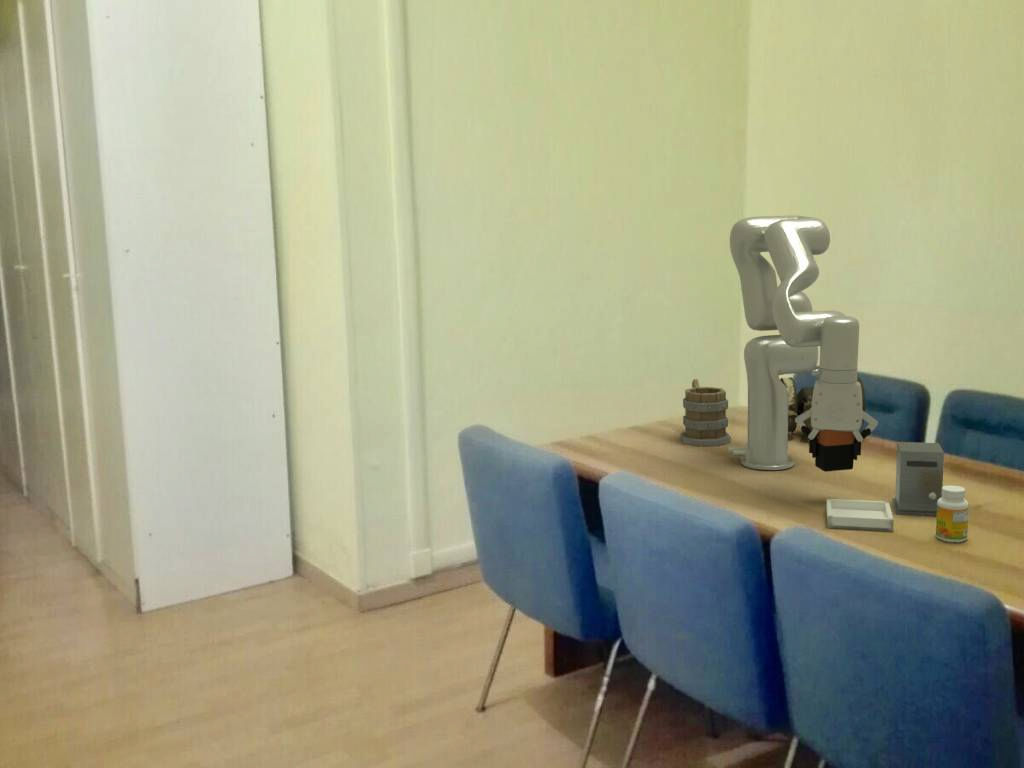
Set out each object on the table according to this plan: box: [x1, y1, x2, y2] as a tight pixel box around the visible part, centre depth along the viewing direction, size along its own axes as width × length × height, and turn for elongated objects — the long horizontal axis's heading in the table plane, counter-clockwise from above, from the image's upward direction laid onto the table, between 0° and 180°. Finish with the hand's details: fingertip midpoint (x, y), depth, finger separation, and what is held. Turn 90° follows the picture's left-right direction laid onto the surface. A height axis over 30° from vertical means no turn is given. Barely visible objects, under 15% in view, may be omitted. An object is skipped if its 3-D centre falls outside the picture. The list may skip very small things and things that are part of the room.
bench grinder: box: [779, 376, 867, 441], centre depth 263 cm, size 20×22×20 cm
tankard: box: [680, 378, 732, 447], centre depth 268 cm, size 20×13×15 cm, turn 179°
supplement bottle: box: [935, 485, 970, 543], centre depth 183 cm, size 5×5×10 cm
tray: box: [825, 498, 895, 532], centre depth 196 cm, size 12×12×2 cm
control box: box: [891, 441, 945, 517], centre depth 201 cm, size 9×9×13 cm
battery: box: [814, 430, 855, 472], centre depth 207 cm, size 4×7×10 cm, turn 101°
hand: (834, 456), depth 208 cm, fingers closed on battery, 7 cm apart
